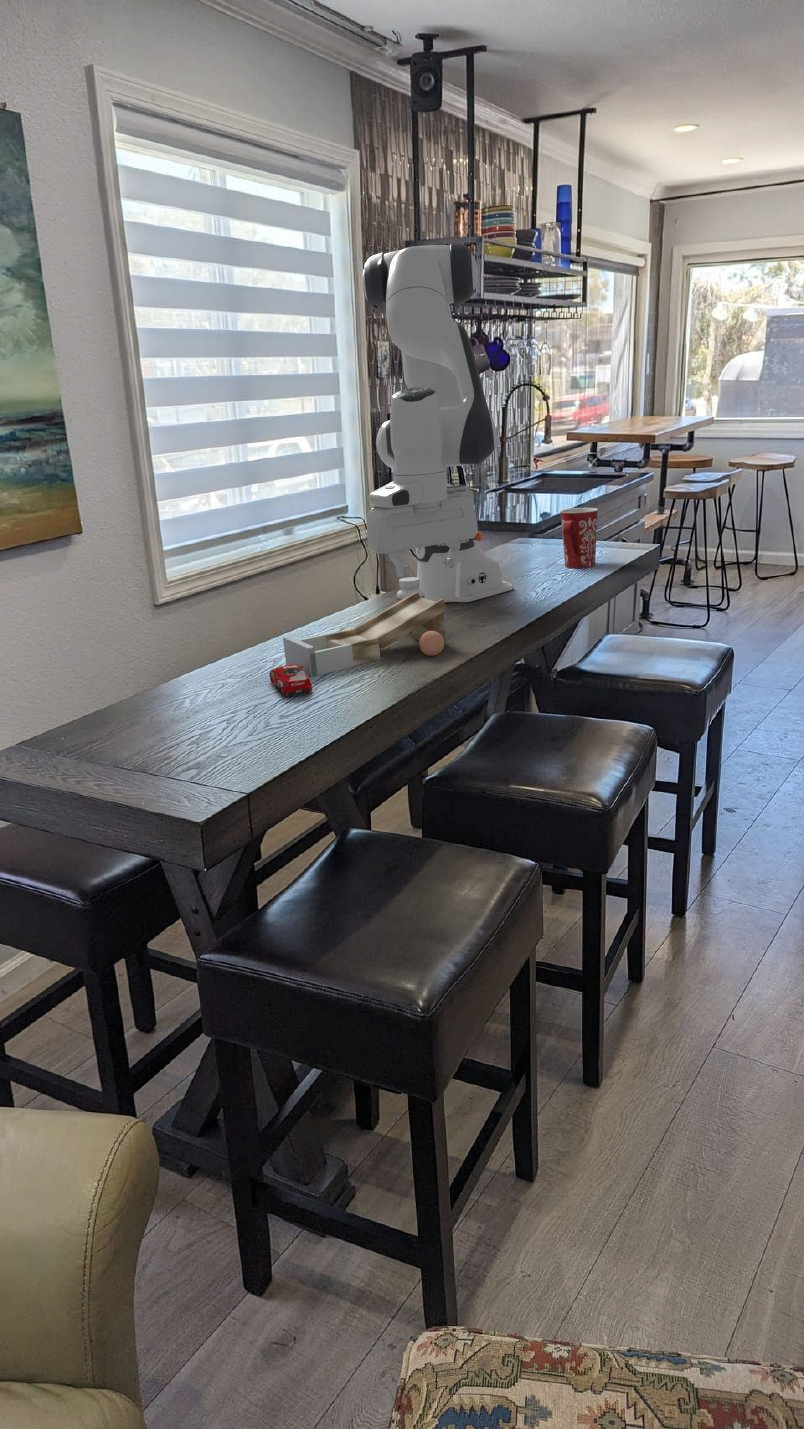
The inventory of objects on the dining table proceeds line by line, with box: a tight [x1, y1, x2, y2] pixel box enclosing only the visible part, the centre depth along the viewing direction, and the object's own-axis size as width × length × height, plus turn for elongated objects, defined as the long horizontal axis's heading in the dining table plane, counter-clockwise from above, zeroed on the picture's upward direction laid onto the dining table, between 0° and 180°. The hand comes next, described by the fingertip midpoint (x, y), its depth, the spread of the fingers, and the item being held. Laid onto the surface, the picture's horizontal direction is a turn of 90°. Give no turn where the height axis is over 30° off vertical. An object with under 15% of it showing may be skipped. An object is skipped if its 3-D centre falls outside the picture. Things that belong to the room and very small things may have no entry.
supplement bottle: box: [396, 576, 425, 603], centre depth 192 cm, size 5×5×10 cm
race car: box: [268, 664, 313, 697], centre depth 162 cm, size 13×5×4 cm, turn 17°
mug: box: [559, 507, 599, 569], centre depth 237 cm, size 13×9×14 cm
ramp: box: [325, 592, 448, 666], centre depth 178 cm, size 20×10×8 cm, turn 120°
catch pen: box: [282, 633, 355, 678], centre depth 172 cm, size 8×10×5 cm
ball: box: [418, 631, 445, 657], centre depth 173 cm, size 4×4×4 cm
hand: (426, 572), depth 169 cm, fingers open, 8 cm apart
